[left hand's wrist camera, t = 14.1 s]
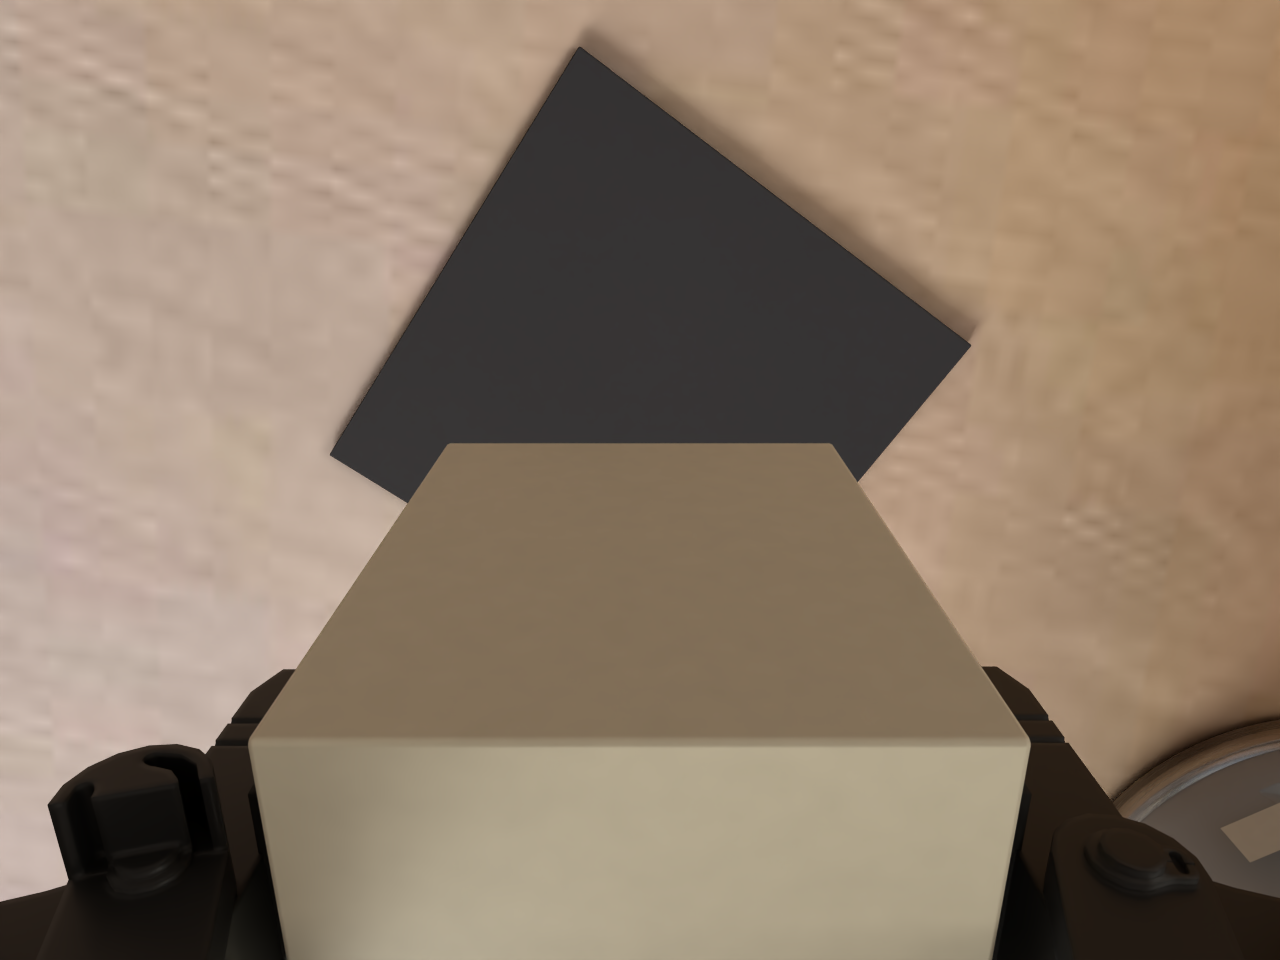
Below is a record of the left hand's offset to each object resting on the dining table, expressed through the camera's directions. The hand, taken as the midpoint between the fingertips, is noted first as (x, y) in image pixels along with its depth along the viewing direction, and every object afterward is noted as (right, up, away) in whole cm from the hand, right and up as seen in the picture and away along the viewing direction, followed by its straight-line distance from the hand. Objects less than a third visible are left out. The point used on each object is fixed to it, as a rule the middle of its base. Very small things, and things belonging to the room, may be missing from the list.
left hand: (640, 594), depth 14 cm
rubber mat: (0, +4, +13) cm, 13 cm away
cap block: (0, 0, -1) cm, 1 cm away
